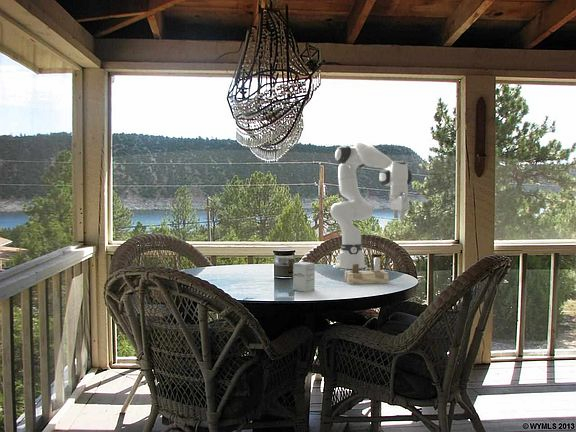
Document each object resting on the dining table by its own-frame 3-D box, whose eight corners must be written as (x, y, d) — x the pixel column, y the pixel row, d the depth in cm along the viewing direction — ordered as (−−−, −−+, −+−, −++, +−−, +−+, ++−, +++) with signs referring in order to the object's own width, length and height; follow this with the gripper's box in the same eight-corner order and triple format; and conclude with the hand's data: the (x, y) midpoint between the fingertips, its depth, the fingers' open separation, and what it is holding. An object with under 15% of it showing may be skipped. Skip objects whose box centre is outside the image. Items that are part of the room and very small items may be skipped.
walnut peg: (351, 281, 274) (351, 263, 274) (357, 281, 274) (357, 263, 274) (353, 282, 271) (353, 264, 271) (359, 282, 271) (359, 264, 271)
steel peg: (373, 281, 275) (373, 257, 275) (379, 281, 276) (379, 257, 275) (374, 282, 272) (374, 258, 272) (380, 282, 273) (380, 258, 272)
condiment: (385, 276, 290) (386, 254, 289) (373, 278, 285) (374, 255, 284) (376, 275, 296) (376, 253, 295) (364, 276, 291) (364, 254, 290)
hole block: (344, 280, 277) (344, 271, 276) (383, 280, 279) (383, 270, 279) (348, 283, 268) (348, 273, 268) (388, 283, 270) (388, 273, 270)
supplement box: (292, 290, 251) (292, 263, 251) (302, 288, 257) (302, 261, 256) (305, 292, 246) (305, 264, 246) (315, 289, 252) (315, 262, 252)
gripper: (411, 192, 273) (411, 220, 274) (399, 192, 293) (398, 217, 294) (399, 192, 272) (399, 220, 273) (387, 192, 293) (387, 218, 293)
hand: (398, 219), depth 284 cm, fingers open, 8 cm apart
